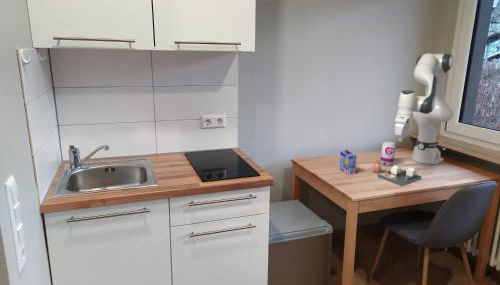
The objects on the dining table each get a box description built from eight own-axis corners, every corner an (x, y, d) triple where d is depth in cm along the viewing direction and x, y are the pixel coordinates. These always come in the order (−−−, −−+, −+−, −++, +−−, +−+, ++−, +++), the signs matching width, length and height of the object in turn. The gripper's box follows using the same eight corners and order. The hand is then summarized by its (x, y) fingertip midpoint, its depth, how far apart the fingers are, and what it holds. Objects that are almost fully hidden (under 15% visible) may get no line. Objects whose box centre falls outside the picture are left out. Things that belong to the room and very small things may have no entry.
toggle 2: (409, 173, 219) (410, 166, 218) (416, 175, 216) (417, 168, 215) (405, 174, 217) (407, 167, 216) (412, 176, 214) (413, 169, 213)
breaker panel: (397, 171, 229) (397, 166, 228) (421, 179, 217) (421, 174, 216) (377, 177, 219) (378, 172, 218) (401, 185, 206) (401, 180, 205)
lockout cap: (375, 170, 230) (377, 160, 228) (382, 172, 227) (383, 162, 225) (371, 171, 228) (372, 161, 226) (377, 173, 224) (378, 163, 222)
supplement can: (394, 167, 237) (397, 145, 233) (380, 166, 239) (383, 144, 235) (391, 163, 245) (394, 141, 241) (379, 162, 246) (381, 140, 242)
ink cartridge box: (338, 169, 230) (340, 147, 226) (345, 168, 232) (348, 147, 228) (347, 175, 221) (350, 152, 217) (355, 174, 223) (357, 151, 219)
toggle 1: (394, 171, 222) (395, 164, 221) (400, 173, 219) (401, 166, 218) (390, 172, 220) (391, 165, 219) (396, 174, 217) (397, 167, 216)
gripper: (403, 115, 226) (400, 136, 229) (394, 119, 210) (391, 143, 213) (413, 116, 222) (410, 138, 226) (405, 121, 206) (402, 144, 210)
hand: (401, 140), depth 219 cm, fingers closed
